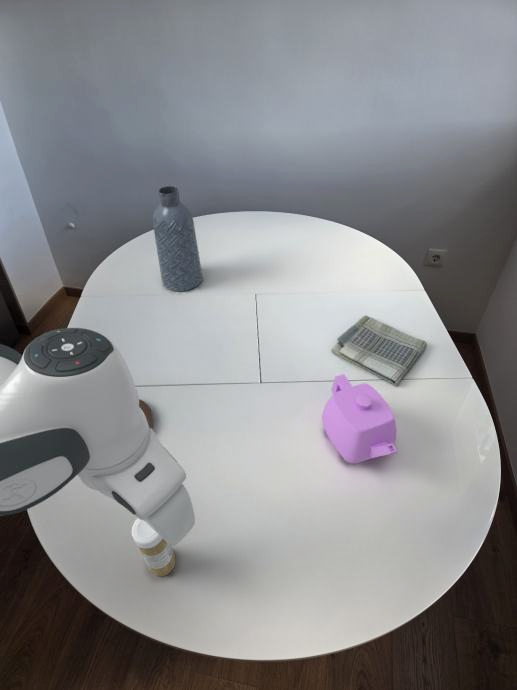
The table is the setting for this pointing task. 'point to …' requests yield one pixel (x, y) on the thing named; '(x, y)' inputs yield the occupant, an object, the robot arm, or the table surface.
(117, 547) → the table surface
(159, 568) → the sprinkles bottle
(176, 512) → the robot arm
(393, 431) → the teapot
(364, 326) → the dish towel
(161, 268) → the vase
